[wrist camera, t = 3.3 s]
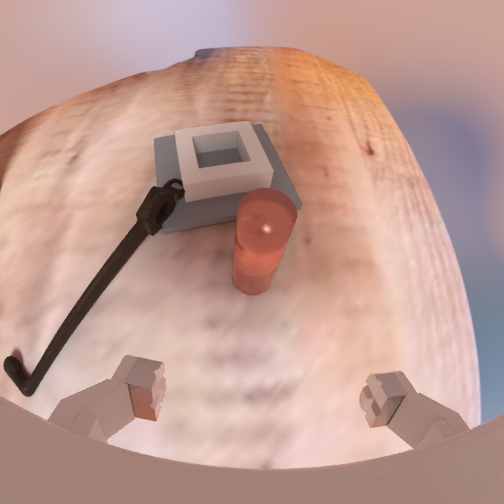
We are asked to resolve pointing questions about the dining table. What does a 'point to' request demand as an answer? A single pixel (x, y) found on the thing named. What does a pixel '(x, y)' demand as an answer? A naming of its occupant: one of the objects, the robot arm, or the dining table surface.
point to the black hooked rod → (102, 280)
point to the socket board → (215, 204)
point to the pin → (261, 238)
